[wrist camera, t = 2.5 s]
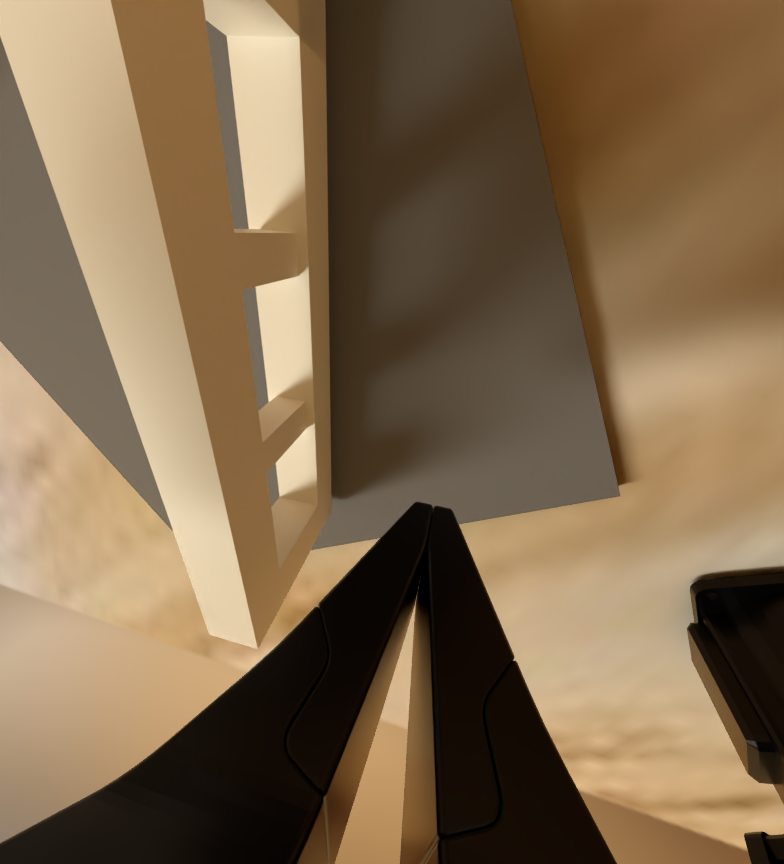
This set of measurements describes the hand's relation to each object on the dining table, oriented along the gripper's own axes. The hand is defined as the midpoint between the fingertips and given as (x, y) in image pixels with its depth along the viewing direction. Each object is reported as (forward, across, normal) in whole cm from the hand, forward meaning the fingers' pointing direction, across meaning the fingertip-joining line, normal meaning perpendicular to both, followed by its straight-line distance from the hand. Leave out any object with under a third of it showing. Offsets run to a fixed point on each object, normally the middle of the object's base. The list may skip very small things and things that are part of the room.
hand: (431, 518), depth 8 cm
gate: (+5, +5, -2) cm, 7 cm away
